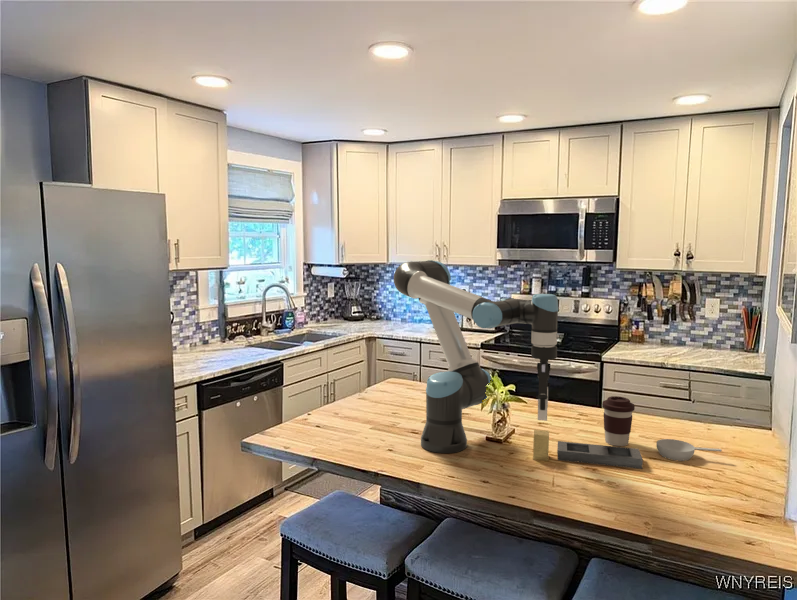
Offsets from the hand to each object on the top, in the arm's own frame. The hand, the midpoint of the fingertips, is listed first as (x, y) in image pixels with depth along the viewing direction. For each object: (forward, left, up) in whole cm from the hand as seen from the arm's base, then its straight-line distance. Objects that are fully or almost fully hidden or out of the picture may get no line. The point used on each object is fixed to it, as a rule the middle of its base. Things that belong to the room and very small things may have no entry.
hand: (542, 413), depth 169 cm
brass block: (0, 0, -14) cm, 14 cm away
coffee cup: (+24, +20, -14) cm, 34 cm away
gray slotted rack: (+17, +4, -14) cm, 22 cm away
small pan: (+44, +13, -15) cm, 48 cm away
